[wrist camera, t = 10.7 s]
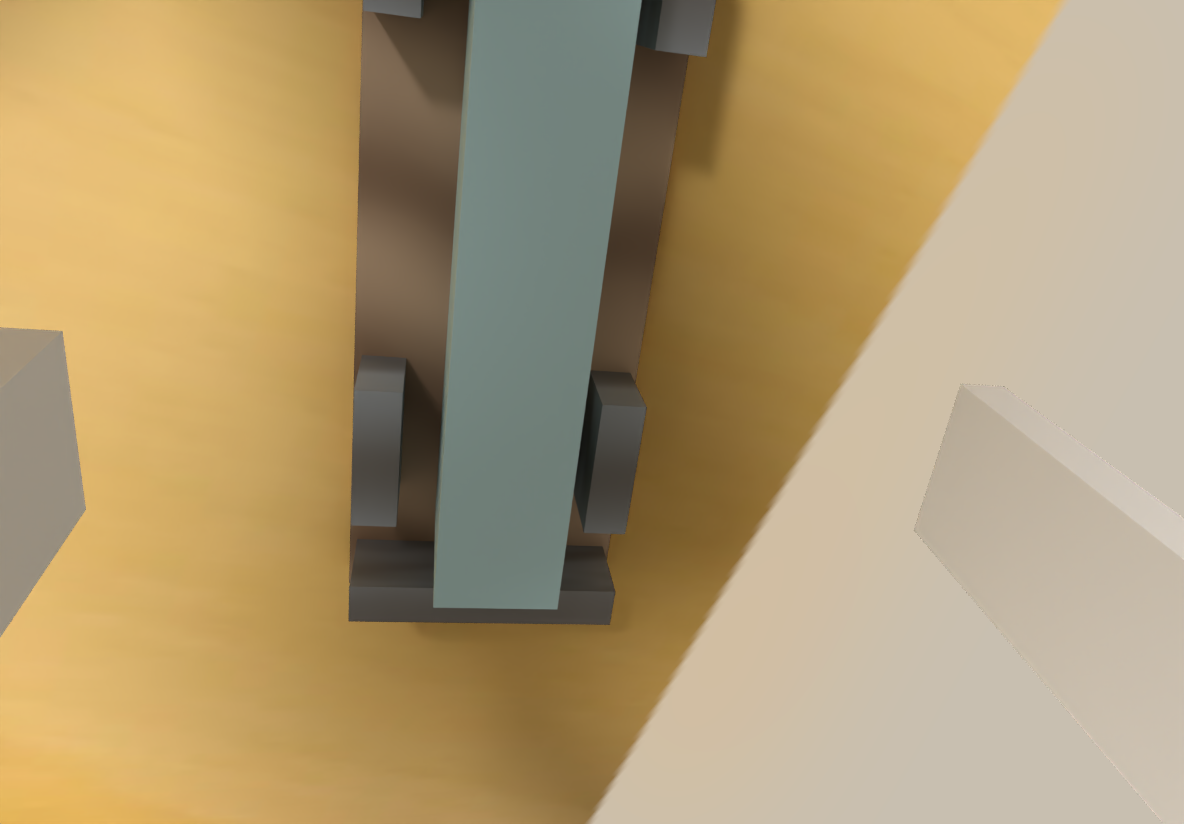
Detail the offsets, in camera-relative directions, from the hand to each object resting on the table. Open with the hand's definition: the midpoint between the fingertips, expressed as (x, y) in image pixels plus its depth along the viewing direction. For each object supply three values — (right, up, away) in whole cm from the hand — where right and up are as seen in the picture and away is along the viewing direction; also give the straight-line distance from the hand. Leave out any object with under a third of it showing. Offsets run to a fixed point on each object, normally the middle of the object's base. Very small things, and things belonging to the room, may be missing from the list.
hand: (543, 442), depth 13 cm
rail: (-2, +7, +16) cm, 18 cm away
